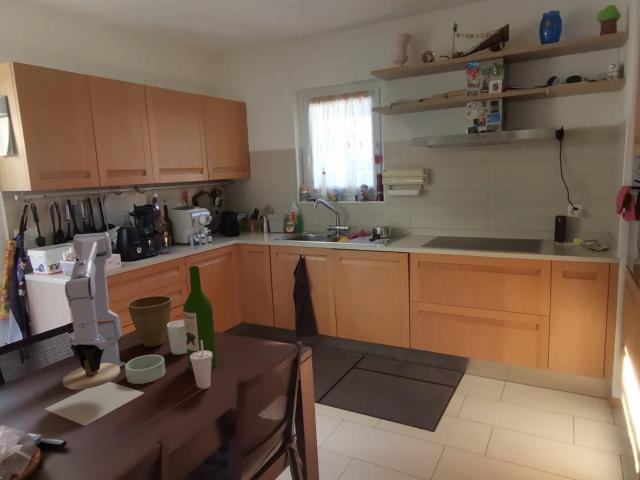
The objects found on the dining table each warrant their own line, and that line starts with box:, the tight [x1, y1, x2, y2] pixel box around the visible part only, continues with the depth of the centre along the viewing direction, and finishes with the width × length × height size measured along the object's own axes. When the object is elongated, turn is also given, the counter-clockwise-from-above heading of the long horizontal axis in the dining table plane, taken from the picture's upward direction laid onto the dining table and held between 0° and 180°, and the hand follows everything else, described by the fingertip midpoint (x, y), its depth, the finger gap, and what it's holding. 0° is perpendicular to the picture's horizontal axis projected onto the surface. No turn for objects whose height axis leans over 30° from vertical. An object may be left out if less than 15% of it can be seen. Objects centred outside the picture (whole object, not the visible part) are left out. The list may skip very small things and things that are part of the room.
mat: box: [44, 381, 145, 426], centre depth 125 cm, size 18×18×1 cm
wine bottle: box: [182, 265, 218, 372], centre depth 143 cm, size 9×9×32 cm
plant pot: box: [127, 295, 172, 348], centre depth 165 cm, size 15×15×16 cm
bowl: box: [124, 354, 166, 385], centre depth 139 cm, size 11×11×5 cm
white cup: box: [167, 319, 187, 355], centre depth 158 cm, size 8×8×10 cm
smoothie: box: [190, 340, 213, 390], centre depth 131 cm, size 6×6×14 cm
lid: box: [62, 360, 121, 390], centre depth 124 cm, size 14×14×5 cm
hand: (91, 369), depth 124 cm, fingers closed on lid, 3 cm apart
